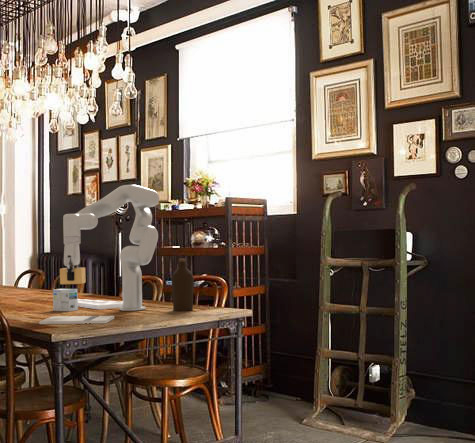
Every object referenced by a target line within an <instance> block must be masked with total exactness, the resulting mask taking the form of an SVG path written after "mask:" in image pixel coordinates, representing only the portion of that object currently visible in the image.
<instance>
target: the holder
mask: <svg viewBox="0 0 475 443" xmlns="http://www.w3.org/2000/svg"><path fill="white" fill-rule="evenodd" d="M79 307H80V308H86V309H90V310H91V309H93V310H98V311H99V310H108V309H109V310H111V309H120V307H123V300H122V301H115V300H102V299H86V298H85V299H82V298H78V308H79Z"/></svg>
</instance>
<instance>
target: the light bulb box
mask: <svg viewBox="0 0 475 443" xmlns="http://www.w3.org/2000/svg"><path fill="white" fill-rule="evenodd" d="M78 294H79V293H78V288H56V289H55V288H54V289H52V310H53V311H54V312H72V311H74V312H75V311H78V310H79V307H78V299H79V297H78V296H79V295H78Z"/></svg>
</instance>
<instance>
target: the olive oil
mask: <svg viewBox="0 0 475 443" xmlns="http://www.w3.org/2000/svg"><path fill="white" fill-rule="evenodd" d="M194 282H195V279H194V275H193V273H192V271H191V270H190V269H189V268H188V267H187V262H186V258H179V259H178V267H177V268H176V269H175V271H174V272H173V273H172V275H171V289H172V291H171V292H172V305H173V306H172V307H173V311H175V312H187V311H188V312H189V311H193V310H194V306H193V305H194Z"/></svg>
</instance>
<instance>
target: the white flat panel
mask: <svg viewBox="0 0 475 443" xmlns="http://www.w3.org/2000/svg"><path fill="white" fill-rule="evenodd" d="M112 320H115V315H75V316H72V315H70V316H63V315H61V316H50V317H47V318H45V319H42V320H39V325H74V324H75V325H76V324H77V325H78V324H79V325H80V324H84V325H85V323H87V324H89V323H91V324H107V323H109V322H111V321H112Z"/></svg>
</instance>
